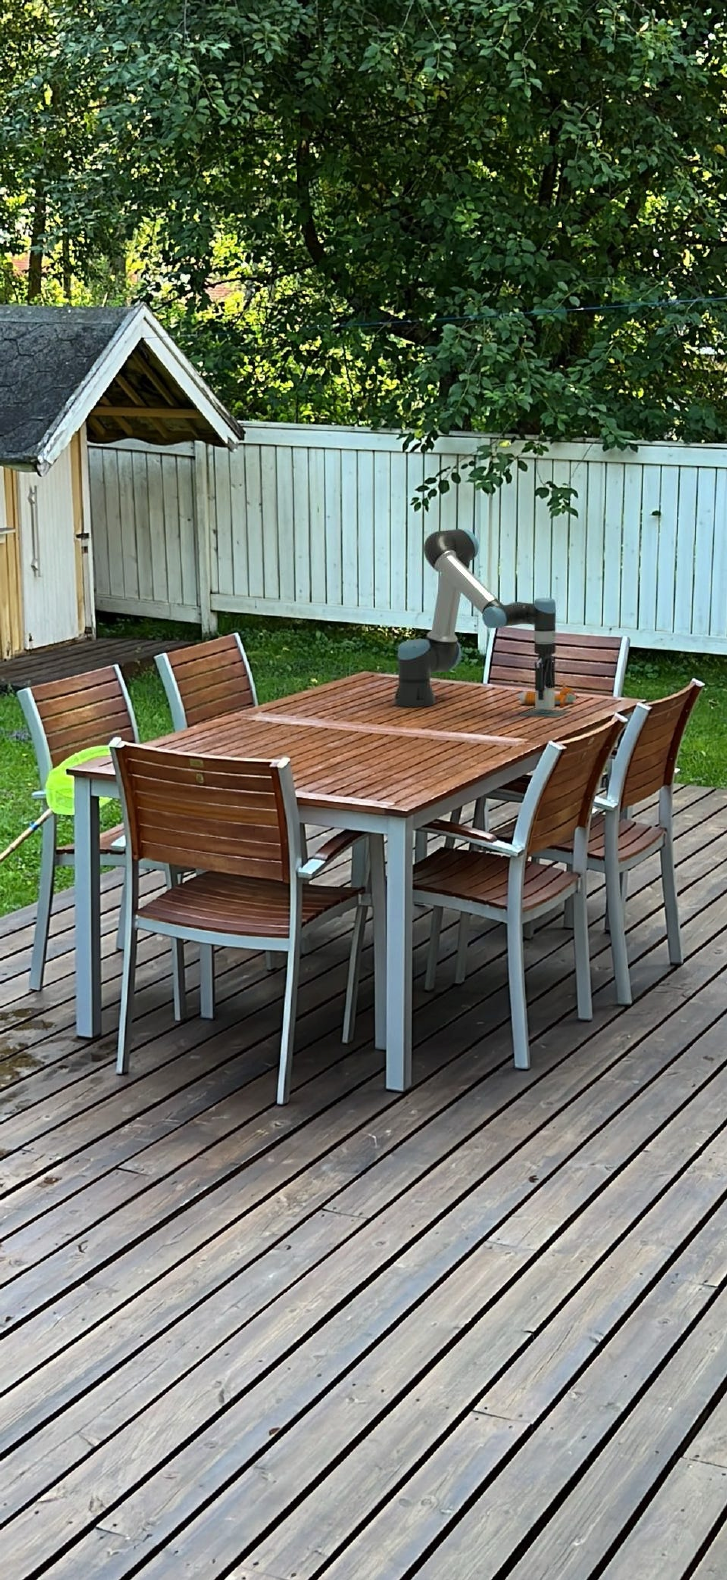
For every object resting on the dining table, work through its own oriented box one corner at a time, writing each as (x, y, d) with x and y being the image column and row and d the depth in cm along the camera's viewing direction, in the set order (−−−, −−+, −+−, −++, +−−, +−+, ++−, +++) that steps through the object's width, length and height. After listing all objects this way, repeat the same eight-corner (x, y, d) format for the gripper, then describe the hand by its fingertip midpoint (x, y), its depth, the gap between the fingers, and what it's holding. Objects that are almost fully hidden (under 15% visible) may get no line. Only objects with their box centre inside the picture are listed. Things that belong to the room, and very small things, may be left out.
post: (540, 713, 638) (540, 694, 637) (543, 712, 640) (543, 693, 639) (547, 714, 637) (547, 694, 635) (549, 713, 639) (549, 693, 638)
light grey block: (535, 708, 637) (535, 690, 636) (541, 706, 642) (541, 688, 640) (548, 709, 635) (548, 691, 633) (554, 707, 639) (554, 689, 638)
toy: (576, 694, 647) (577, 680, 661) (514, 694, 651) (517, 681, 664) (576, 715, 651) (577, 701, 664) (514, 715, 654) (517, 701, 667)
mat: (519, 715, 636) (519, 714, 636) (534, 709, 648) (534, 708, 648) (555, 717, 629) (555, 717, 629) (570, 711, 641) (570, 710, 641)
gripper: (544, 646, 624) (544, 712, 629) (564, 639, 639) (564, 704, 644) (524, 645, 627) (525, 710, 632) (545, 638, 643) (545, 702, 648)
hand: (545, 707), depth 638 cm, fingers closed on light grey block, 5 cm apart
